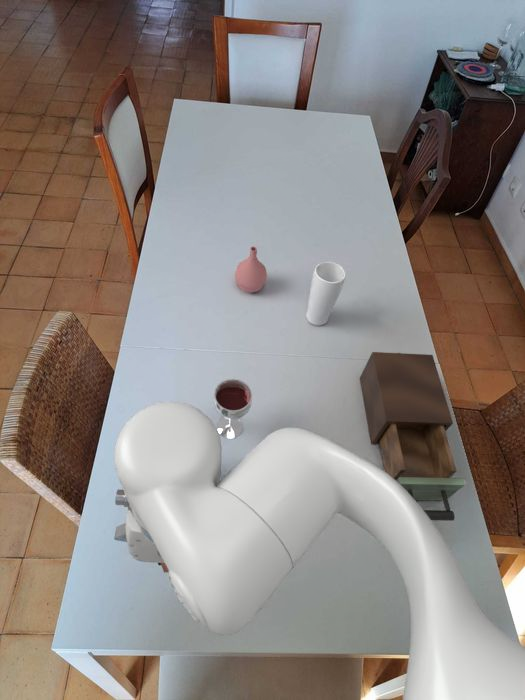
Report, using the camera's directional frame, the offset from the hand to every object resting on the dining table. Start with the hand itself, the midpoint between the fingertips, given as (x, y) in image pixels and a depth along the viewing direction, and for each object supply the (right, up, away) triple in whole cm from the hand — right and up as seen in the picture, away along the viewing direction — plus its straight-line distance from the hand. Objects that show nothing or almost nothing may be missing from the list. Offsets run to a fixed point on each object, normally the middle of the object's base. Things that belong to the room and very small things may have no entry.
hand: (185, 552), depth 55 cm
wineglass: (+3, +9, +34) cm, 35 cm away
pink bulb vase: (+6, +40, +58) cm, 70 cm away
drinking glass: (+22, +32, +53) cm, 66 cm away
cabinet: (+37, +12, +40) cm, 56 cm away
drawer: (+37, +1, +31) cm, 48 cm away
